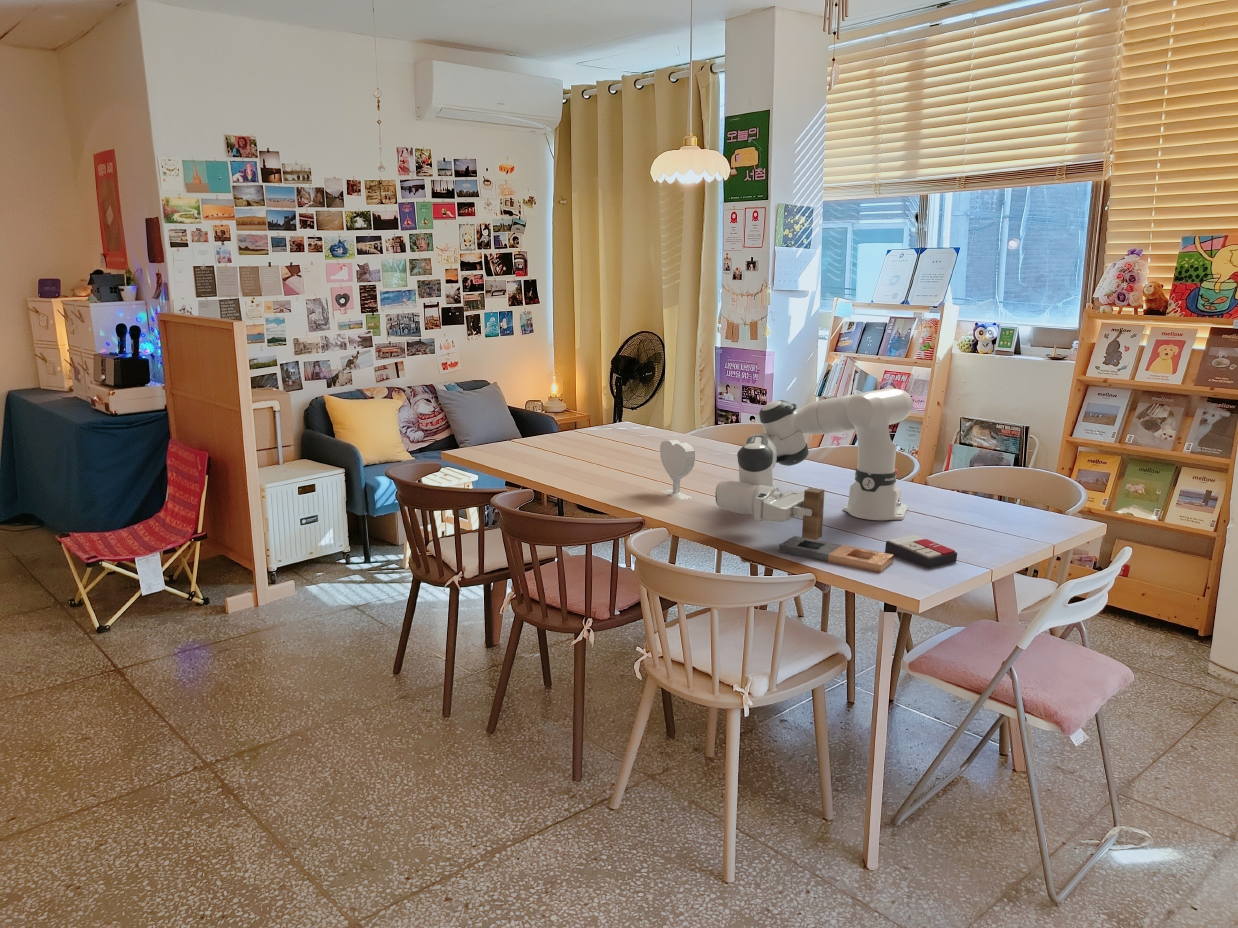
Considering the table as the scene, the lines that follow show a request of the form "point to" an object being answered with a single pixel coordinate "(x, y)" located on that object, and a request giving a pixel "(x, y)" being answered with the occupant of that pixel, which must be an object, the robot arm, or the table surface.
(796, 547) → the peg board
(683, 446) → the heart sculpture
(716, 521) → the table surface
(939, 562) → the calculator
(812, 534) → the walnut peg
